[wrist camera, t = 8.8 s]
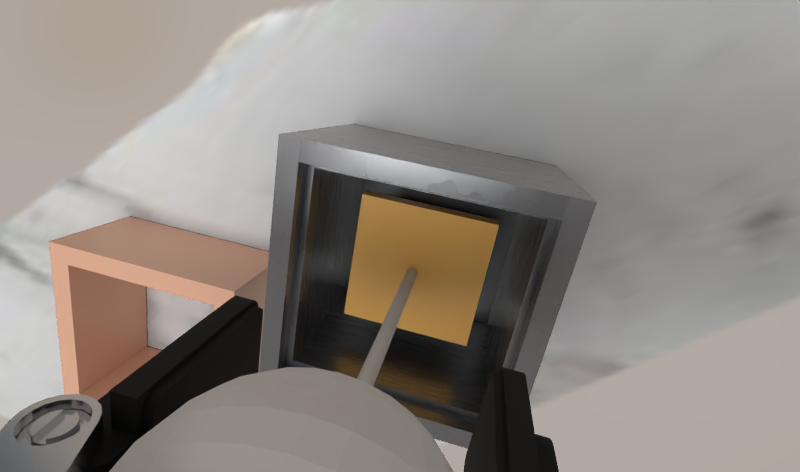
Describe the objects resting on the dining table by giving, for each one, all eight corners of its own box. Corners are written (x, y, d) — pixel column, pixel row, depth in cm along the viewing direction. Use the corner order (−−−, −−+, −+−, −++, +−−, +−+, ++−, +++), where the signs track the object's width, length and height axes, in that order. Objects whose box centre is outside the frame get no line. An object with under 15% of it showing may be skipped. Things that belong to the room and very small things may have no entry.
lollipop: (375, 350, 19) (73, 1031, 5) (319, 234, 18) (-276, 702, 4) (507, 312, 17) (608, 1192, 3) (455, 181, 16) (265, 682, 2)
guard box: (554, 165, 20) (596, 202, 12) (500, 344, 23) (507, 460, 16) (353, 123, 21) (279, 134, 14) (328, 299, 24) (257, 385, 17)
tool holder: (283, 255, 24) (234, 291, 19) (270, 395, 27) (225, 455, 23) (129, 216, 25) (48, 241, 21) (134, 354, 29) (65, 403, 24)
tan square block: (497, 204, 20) (499, 225, 16) (469, 306, 22) (466, 346, 18) (383, 178, 21) (362, 194, 17) (366, 280, 22) (343, 313, 19)
